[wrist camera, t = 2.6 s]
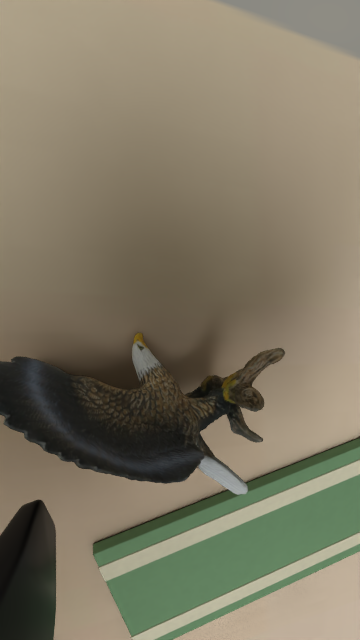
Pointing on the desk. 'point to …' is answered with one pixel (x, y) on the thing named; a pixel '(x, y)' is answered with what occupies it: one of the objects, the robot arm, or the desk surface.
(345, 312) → the desk surface
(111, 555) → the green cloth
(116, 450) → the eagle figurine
